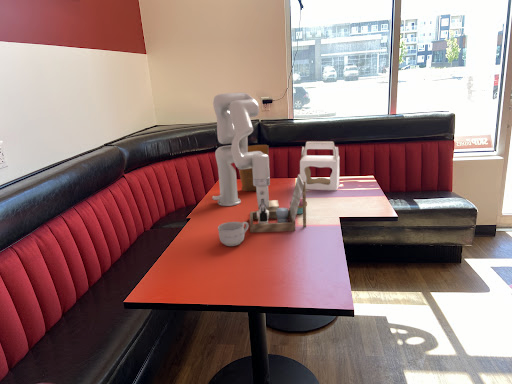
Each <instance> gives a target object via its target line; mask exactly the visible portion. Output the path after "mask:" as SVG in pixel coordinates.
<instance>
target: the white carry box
mask: <svg viewBox="0 0 512 384" xmlns="http://www.w3.org/2000/svg"><path fill="white" fill-rule="evenodd" d="M301 147H302V148H301V156H300V159H299V175H300V177H301V179H302V181H306V190H316V191H317V190H318V191H338V188H339V187H340V155H339V153H340V151H339V146H336V145H335V142H334V141H332V140H331V141H329V140H327V141H321V140H320V141H317V140H316V141H315V140H314V141H313V140H311V141H310V140H309V141H306V142H305V146H301ZM308 150H332V154H333V155H322V154H321V155H313V154H312V155H311V154H309V155H308V153H307V152H308ZM310 167H313V168H314V167H315V168H319V169H320V168H330V169H331V170H332V172H331V173H330V177H329V178H325V177H316V178H312V177H311V174H312V173H311V169H310Z"/></svg>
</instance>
